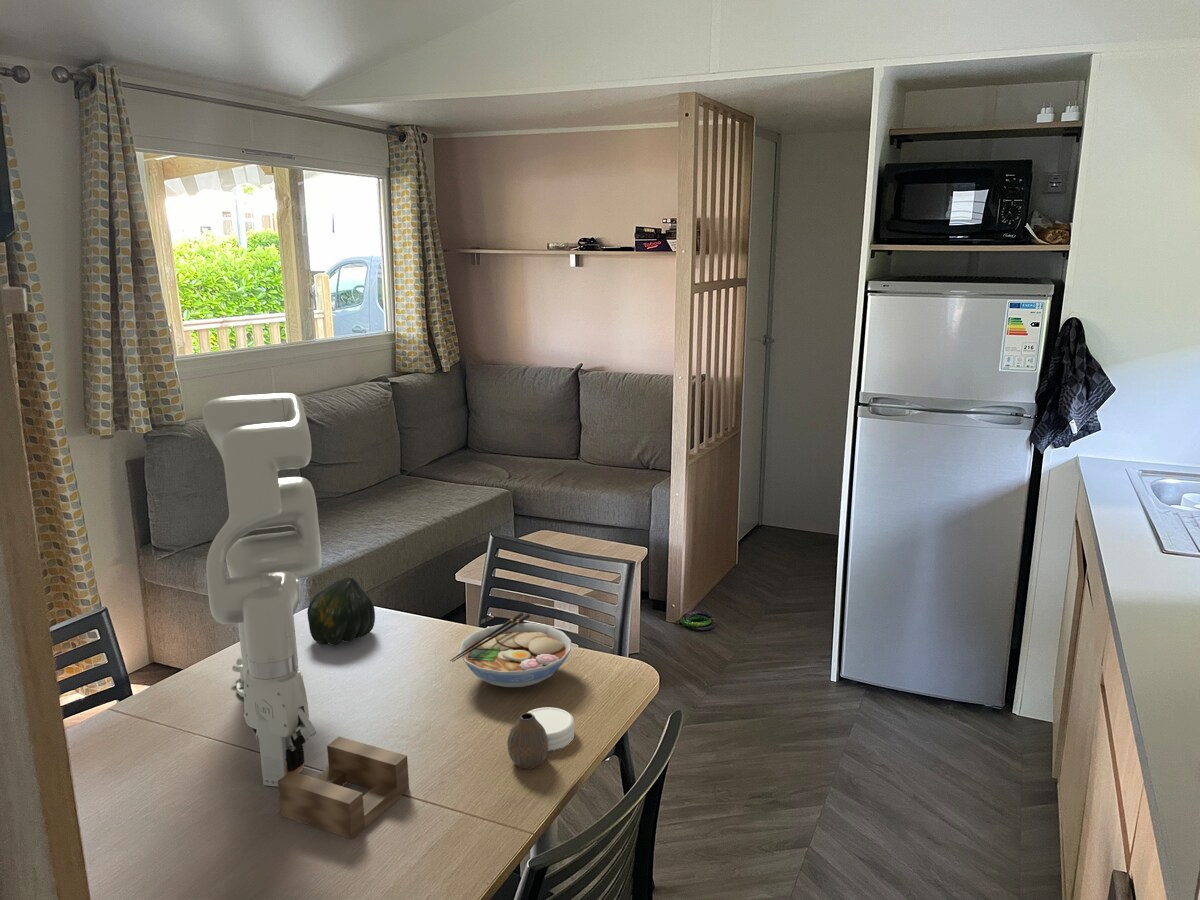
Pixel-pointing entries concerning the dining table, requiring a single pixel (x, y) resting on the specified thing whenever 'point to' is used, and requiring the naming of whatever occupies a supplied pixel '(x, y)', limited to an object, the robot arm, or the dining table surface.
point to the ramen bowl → (515, 652)
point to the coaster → (555, 726)
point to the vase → (527, 742)
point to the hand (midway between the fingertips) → (283, 762)
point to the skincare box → (273, 755)
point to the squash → (340, 613)
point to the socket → (342, 806)
